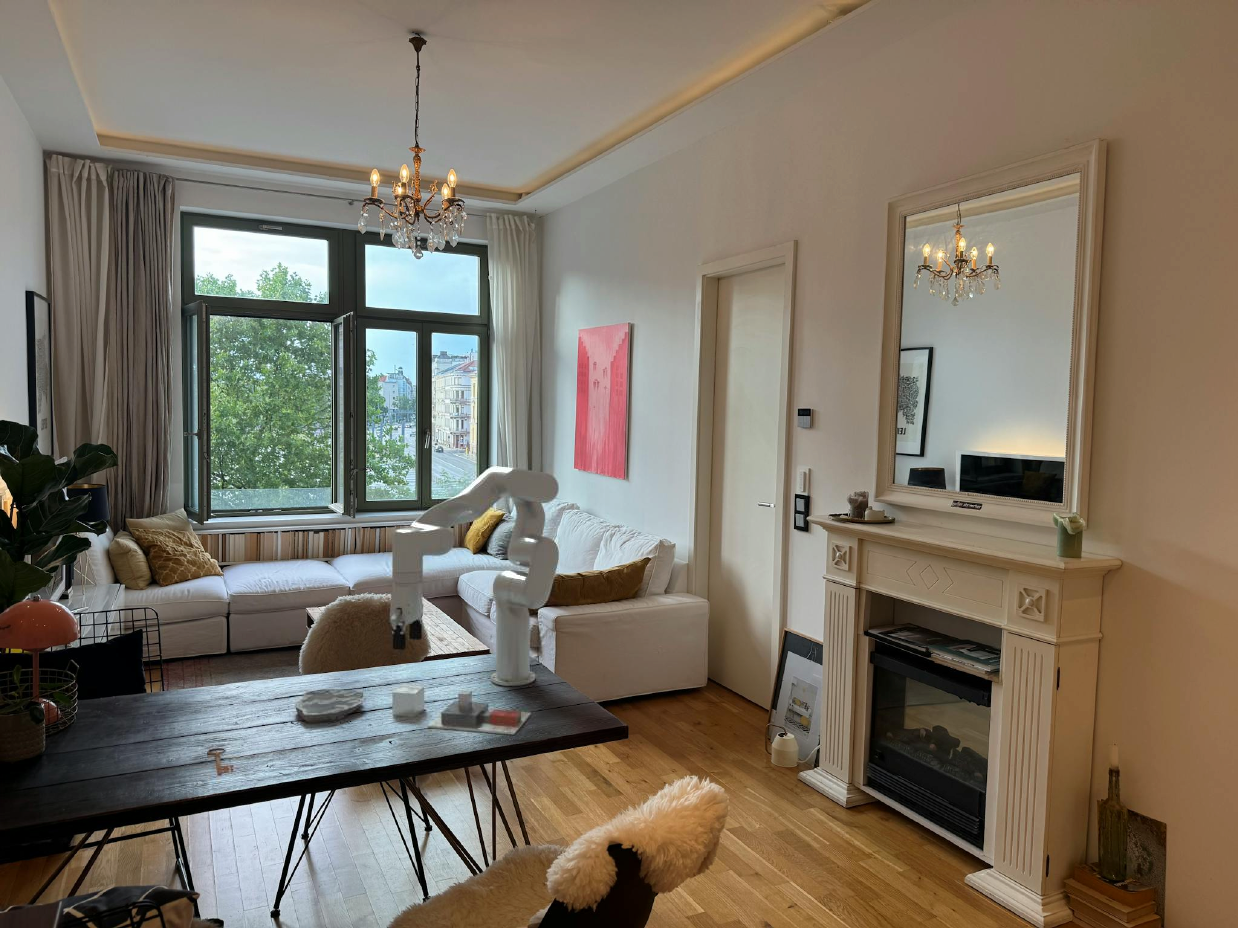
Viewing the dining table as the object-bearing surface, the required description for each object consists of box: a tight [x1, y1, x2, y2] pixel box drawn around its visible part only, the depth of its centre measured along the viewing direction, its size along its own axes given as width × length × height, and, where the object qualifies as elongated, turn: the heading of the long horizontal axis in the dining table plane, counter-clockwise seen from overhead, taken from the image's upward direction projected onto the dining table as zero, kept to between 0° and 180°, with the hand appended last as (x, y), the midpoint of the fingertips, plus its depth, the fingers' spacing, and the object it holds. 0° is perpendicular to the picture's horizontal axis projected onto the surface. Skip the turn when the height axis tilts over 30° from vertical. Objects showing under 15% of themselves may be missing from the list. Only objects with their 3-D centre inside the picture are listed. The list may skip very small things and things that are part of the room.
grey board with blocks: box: [427, 690, 532, 736], centre depth 217 cm, size 14×22×7 cm, turn 79°
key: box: [207, 747, 234, 776], centre depth 192 cm, size 6×1×15 cm
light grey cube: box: [391, 684, 425, 718], centre depth 223 cm, size 6×6×6 cm
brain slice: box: [294, 688, 367, 724], centre depth 223 cm, size 20×17×3 cm
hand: (407, 643), depth 221 cm, fingers open, 9 cm apart
